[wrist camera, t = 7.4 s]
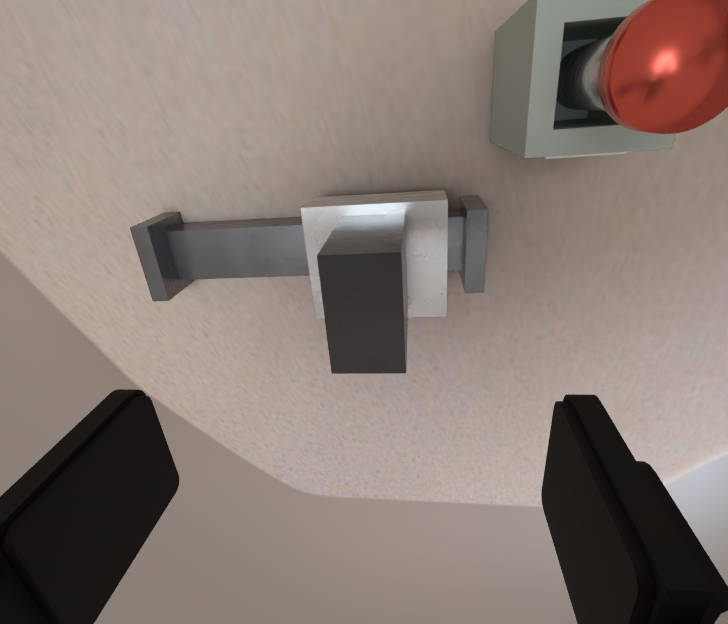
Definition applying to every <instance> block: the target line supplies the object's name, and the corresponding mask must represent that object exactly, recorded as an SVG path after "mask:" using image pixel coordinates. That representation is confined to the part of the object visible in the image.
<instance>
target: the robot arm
mask: <svg viewBox="0 0 728 624" xmlns="http://www.w3.org/2000/svg"><path fill="white" fill-rule="evenodd" d="M178 485H179V475H178V472H177V470H176V467H175V464H174V461H173V458H172V456H171V453H170V450H169V448H168V445H167V442H166V439H165V436H164V434H163V431H162V428H161V425H160V422H159V420H158V417H157V414H156V411H155V408H154V406H153V403H152V400H151V399H150V398H149V397H148V396H146V395H145V393H144V392H143V391H141V390H115V391H113V392H112V393H110V394H109V395H108V396H107V397H106V398H105V399H104V400H103V401H102V402H101V403H100V404H99V405H98V406H97V407H96V408H94V409H93V410H92V411H91V412H90V413H89V414H88V415H87V416H86V417H85V418H84V419H83V420H82V421H81V422H79V423H78V425H76V426H75V427H74V428H73V429H72V430H71V431H70V432H69V433H68V434H67V435H66V436H65V437H63V438H62V440H60V441H59V443H57V444H56V445H55V446H54V447H53V448H52V449H51V450H50V451H49V452H48V453H47V454H45V455H44V456H43V458H41V459H40V460H39V461H38V462H37V463H36V464H35V465H34V466H33V467H32V468H31V469H29V470H28V471H27V472H26V473H25V474H24V475H23V476H22V477H21V478H20V479H19V480H18V481H17V482H16V483H15V484H14V485H12V486H11V487H10V488H9V489H8V490H7V491H6V492H5V493H4V494H3V495H2V496H1V497H0V624H93V623H94V622H95V621H96V619H97V617H98V616H99V614H100V613H101V611H102V609H103V608H104V606H105V605H106V603H107V601H108V600H109V598H110V597H111V595H112V593H113V592H114V590H115V589H116V587H117V586H118V584H119V582H120V581H121V579H122V578H123V576H124V574H125V573H126V571H127V569H128V568H129V566H130V565H131V563H132V562H133V560H134V558H135V557H136V555H137V553H138V552H139V550H140V549H141V547H142V546H143V544H144V542H145V541H146V539H147V538H148V536H149V534H150V533H151V531H152V530H153V528H154V527H155V525H156V523H157V522H158V520H159V518H160V517H161V515H162V514H163V512H164V510H165V509H166V507H167V506H168V504H169V503H170V501H171V499H172V497H173V496H174V495H175V493H176V491H177V489H178ZM542 505H543V509H544V513H545V516H546V520H547V523H548V526H549V530H550V533H551V536H552V539H553V543H554V546H555V550H556V553H557V556H558V560H559V563H560V566H561V570H562V573H563V576H564V580H565V583H566V586H567V590H568V593H569V596H570V600H571V603H572V606H573V610H574V613H575V616H576V620H577V623H578V624H728V586H727V585H726V583H725V582H724V580H723V578H722V577H721V575H720V574H719V572H718V570H717V569H716V567H715V566H714V564H713V563H712V561H711V560H710V558H709V556H708V555H707V553H706V552H705V550H704V548H703V547H702V545H701V544H700V542H699V540H698V539H697V537H696V536H695V534H694V533H693V531H692V529H691V528H690V526H689V525H688V523H687V521H686V520H685V518H684V517H683V515H682V514H681V512H680V510H679V509H678V507H677V506H676V504H675V502H674V501H673V499H672V498H671V496H670V494H669V493H668V491H667V490H666V488H665V486H664V485H663V483H662V482H661V480H660V479H659V477H658V475H657V474H656V472H655V471H654V470H653V468H652V467H651V466H650V465H649V464H647V463H646V462H642V461H636V460H635V458H634V457H633V455H632V453H631V452H630V450H629V448H628V447H627V445H626V443H625V442H624V440H623V438H622V437H621V435H620V433H619V432H618V430H617V428H616V427H615V425H614V423H613V422H612V420H611V418H610V417H609V415H608V413H607V411H606V410H605V408H604V406H603V405H602V403H601V401H600V400H599V398H598V397H597V396H595V395H565V397H564V399H563V401H557V402H556V403H555V405H554V411H553V417H552V424H551V431H550V438H549V445H548V451H547V458H546V465H545V472H544V479H543V486H542Z"/></svg>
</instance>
